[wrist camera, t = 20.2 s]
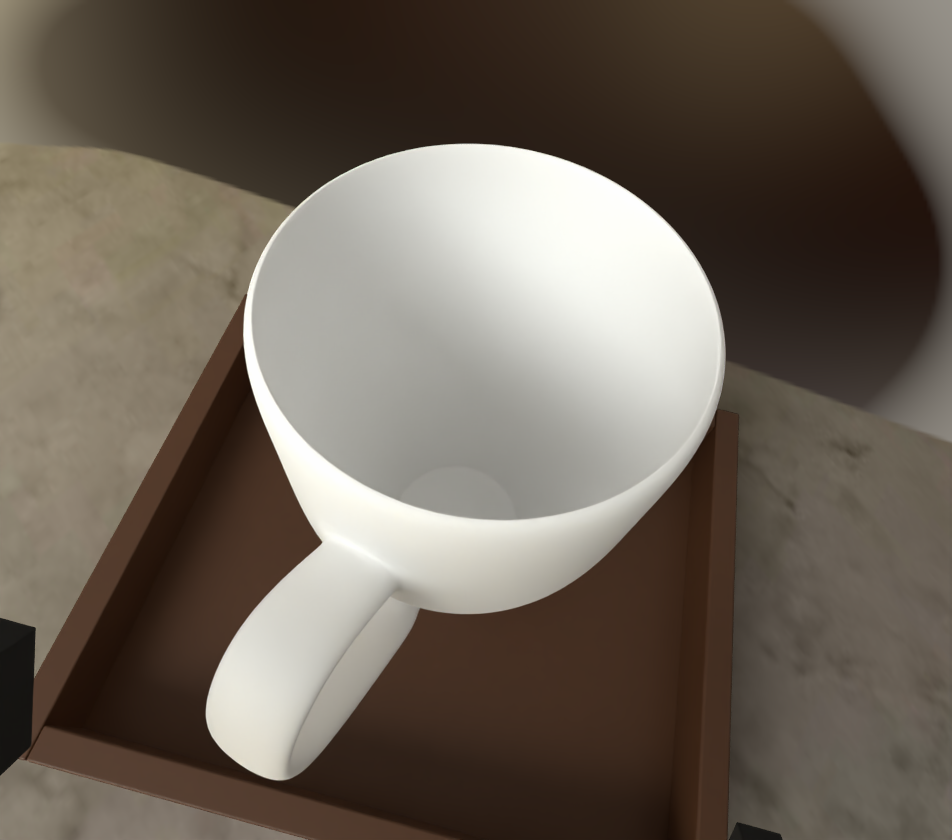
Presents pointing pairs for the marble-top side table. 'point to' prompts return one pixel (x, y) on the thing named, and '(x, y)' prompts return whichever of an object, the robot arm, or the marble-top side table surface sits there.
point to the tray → (406, 662)
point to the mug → (454, 411)
